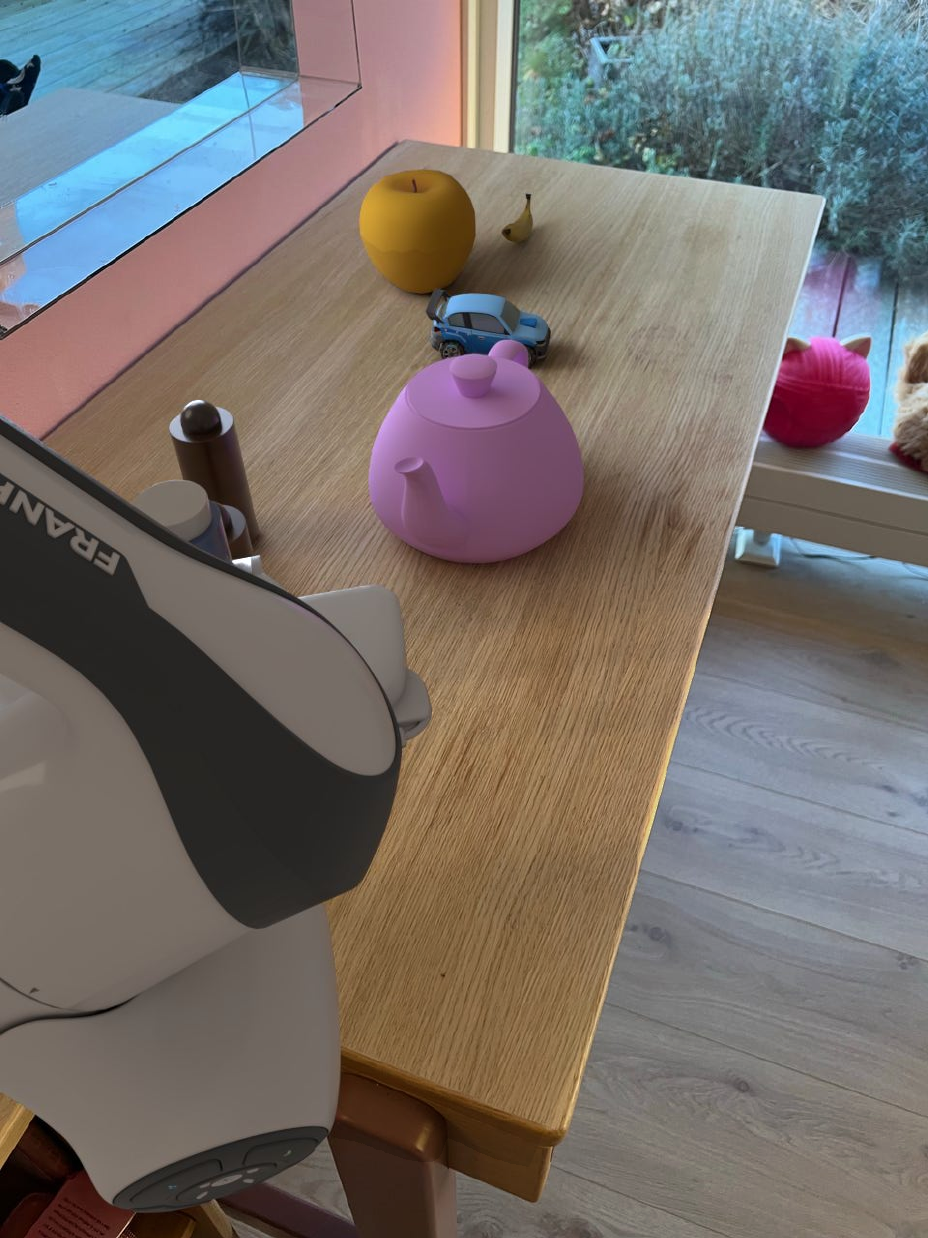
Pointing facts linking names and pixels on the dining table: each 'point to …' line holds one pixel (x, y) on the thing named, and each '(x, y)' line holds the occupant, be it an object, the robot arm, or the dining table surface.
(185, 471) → the far mill
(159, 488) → the blue shaker
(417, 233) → the apple
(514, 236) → the banana
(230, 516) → the near mill
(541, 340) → the toy car
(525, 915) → the dining table surface
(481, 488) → the teapot
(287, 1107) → the robot arm
